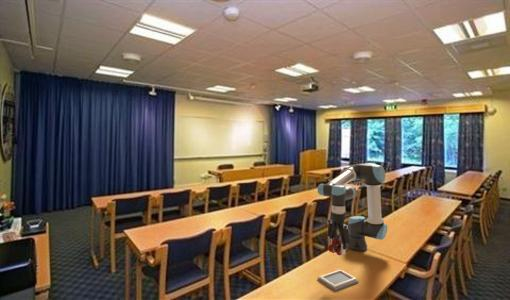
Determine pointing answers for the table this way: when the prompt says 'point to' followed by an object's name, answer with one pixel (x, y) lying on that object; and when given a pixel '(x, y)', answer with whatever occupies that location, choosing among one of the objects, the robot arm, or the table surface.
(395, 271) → the table surface
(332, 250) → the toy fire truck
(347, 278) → the base board
